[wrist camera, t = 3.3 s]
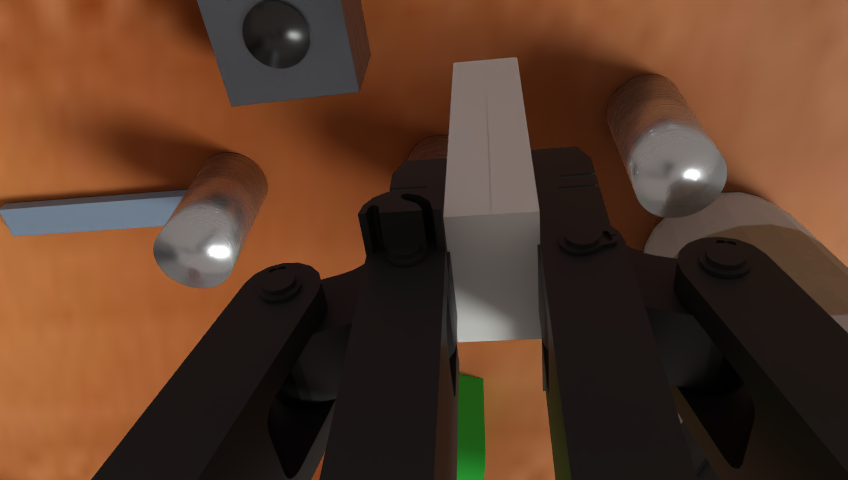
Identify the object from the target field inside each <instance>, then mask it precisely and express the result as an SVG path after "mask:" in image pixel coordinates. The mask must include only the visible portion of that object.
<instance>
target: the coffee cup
mask: <svg viewBox="0 0 848 480" xmlns="http://www.w3.org/2000/svg"><path fill="white" fill-rule="evenodd" d="M708 237H725V238H732V239H738V240H741V241H743V242H746V243H749V244H752V245H754V246H755V247H757V248H758V249H760V250H761V251H763V252H764V253H766V254H767V255H768V256H769V257H770V258H771V259H772V260H773V261H774V262H775V263H776V264H777V265H778V266H779V267H780V268H781V269H782V270H783V271H784V272H785V273H787V274H788V275H789V276H790V277H791V278H792V279H793V280H794V281H795V282H796V283H797V284H798V285H799V286H800V287H801V288H802V289H803V290H804V291H805V292H806V293H807V294H808V295H809V296H810V297H811V298H812V299H813V300H814V301H815V302H817V303H818V304H819V305H820V306H821V307H822V308H823V309H824V310H825V311H826V312H827V313H828V314H829V315H830V316H831V317H832V318H833V319H834V320H835V321H836V322H837V323H838V324H839V325H840V326H841V327H842V328H843V329H844V330H845V331H847V332H848V268H847V267H846V266H845V265H844V264H843V263H842V262H841V261H840V260H839V259H838V258H837V257H836V256H834V255H833V254H832V253H831V252H830V251H829V250H828V249H827V248H826V247H825V246H824V245H823V244H822V243H821V242H820V241H818V240H817V239H816V238H815V237H814V236H813V235H812V234H811V233H810V232H809V231H808V230H807V229H806V228H805V227H804V226H802V225H801V224H800V223H799V222H798V221H797V220H796V219H795V218H794V217H793V216H792V215H791V214H789V213H787V212H786V211H784V210H783V209H781V208H779V207H778V206H776V205H775V204H773V203H770V202H768V201H766V200H765V199H763V198H762V197H759V196H754V195H750V194H746V193H741V192H728V193H720V194H719V196H718V197H717V198H716V199H715V200H714V201H713V202H712V203H711V204H710V205H709V206H707V207H706V208H704V209H703V210H701V211H699V212H697V213H695V214H692V215H689V216H685V217H680V218H664V219H663V220H662V221H661V222H660V223H659V224H658V225H657V226H656V227H655V228H654V229H653V231H652V233H651V235H650V237H649V238H648V240H647V242H646V244H645V246H644V253H647V254H651V255H656V256H663V257H670V258H676V259H677V258H678V254H679V251H680V250H681V249H682V248H683V247H684V246H685V245H686V244H687V243H689V242H692V241H695V240H697V239H700V238H708ZM678 416H679V414H678ZM679 419H680V422H681V426H682V429H683V432H684V435H685V439H686V442H687V445H688V448H689V452H690V455H691V458H692V461H693V465H694V468H695V471H696V474H697V478H698V480H720V479H719V477H718V476H717V474H716V473H715V471H714V470H713V468H712V466H711V465H710V463H709V462H708V460H707V458H706V457H705V455H704V454H703V452H702V451H701V449H700V447H699V446H698V444H697V443H696V441H695V439H694V438H693V436H692V435H691V433H690V432H689V430H688V428H687V427H686V425H685V424H684V422H683V420H682V419H681V417H680V416H679Z"/></svg>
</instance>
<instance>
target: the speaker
mask: <svg viewBox="0 0 848 480" xmlns="http://www.w3.org/2000/svg"><path fill="white" fill-rule="evenodd" d="M197 2H198V6H199V9H200V12H201V15H202V18H203V21H204V24H205V27H206V30H207V33H208V36H209V39H210V42H211V45H212V48H213V51H214V54H215V57H216V61H217V64H218V67H219V70H220V73H221V76H222V79H223V82H224V85H225V88H226V91H227V94H228V97H229V100H230V103H231V106H240V105H249V104H258V103H266V102H275V101H284V100H293V99H302V98H311V97H320V96H328V95H337V94H346V93H355V92H360V88H361V85H362V82H363V79H364V75H365V72H366V69H367V66H368V62H369V59H370V56H371V54H370V48H369V43H368V38H367V32H366V27H365V22H364V16H363V11H362V6H361V0H197Z"/></svg>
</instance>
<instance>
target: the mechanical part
mask: <svg viewBox="0 0 848 480" xmlns="http://www.w3.org/2000/svg"><path fill="white" fill-rule="evenodd" d="M484 472H485V425H484V393H483V379H482V378H477V377H472V376H467V375H461V374H459V396H458V447H457V480H484Z"/></svg>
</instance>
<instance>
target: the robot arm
mask: <svg viewBox="0 0 848 480" xmlns="http://www.w3.org/2000/svg"><path fill="white" fill-rule="evenodd" d="M358 217H359V222H360V227H361V231H362V236H363V241H364V246H365V251H366V260H365V264H363V265H362V266H360V267H358V268H356V269H354V270H352V271H349V272H346V273H344V274H341V275H337V276H333V277H330V278H326V279H322V280H321V279H320V275H319V272H317V271H316V270H315V269H314V268H313V267H311V266H309V265H305V264H301V263H283V264H279V265H275V266H271V267H268V268H266V269H264V270H262V271H260V272H258V273H256V274H255V275H254V276H252V277H251V278H250V279H249V280H248V281H247V282H246V283H245V284H244V285H243V286H242V288H241V289H240V290H239V291H238V293H237V294H236V295H235V297H234V298H233V299H232V300H231V302H230V303H229V304H228V306H227V307H226V308H225V309H224V311H223V312H222V313H221V314H220V316H219V317H218V318H217V320H216V321H215V322H214V323H213V325H212V326H211V327H210V329H209V330H208V331H207V332H206V334H205V335H204V336H203V337H202V339H201V340H200V341H199V343H198V344H197V345H196V346H195V348H194V349H193V350H192V352H191V353H190V354H189V355H188V357H187V358H186V359H185V360H184V362H183V363H182V364H181V366H180V367H179V368H178V369H177V371H176V372H175V373H174V375H173V376H172V377H171V378H170V380H169V381H168V382H167V383H166V385H165V386H164V387H163V389H162V390H161V391H160V392H159V394H158V395H157V396H156V397H155V399H154V400H153V401H152V403H151V404H150V405H149V406H148V408H147V409H146V410H145V412H144V413H143V414H142V415H141V417H140V418H139V419H138V420H137V422H136V423H135V424H134V426H133V427H132V428H131V429H130V431H129V432H128V433H127V435H126V436H125V437H124V438H123V440H122V441H121V442H120V443H119V445H118V446H117V447H116V449H115V450H114V451H113V452H112V454H111V455H110V456H109V458H108V459H107V460H106V461H105V463H104V464H103V465H102V466H101V468H100V469H99V470H98V472H97V473H96V474H95V475H94V477H93V478H92V479H91V480H311V479H312V477H313V475H314V473H315V471H316V469H317V467H318V465H319V463H320V460H321V458H322V456H323V454H324V452H325V455H324V460H323V465H322V470H321V475H320V479H319V480H457V447H458V396H459V359H458V350H457V337H458V342H473V341H498V340H522V339H542V367H543V391H546V398H547V407H548V416H549V425H550V434H551V443H552V452H553V461H554V470H555V479H556V480H698V478H697V474H696V471H695V468H694V465H693V461H692V458H691V455H690V452H689V448H688V445H687V442H686V439H685V435H684V432H683V429H682V426H681V422H680V419H679V416H680V417H681V419H682V420H683V422H684V424H685V425H686V427H687V428H688V430H689V432H690V433H691V435H692V436H693V438H694V439H695V441H696V443H697V444H698V446H699V447H700V449H701V451H702V452H703V454H704V455H705V457H706V458H707V460H708V462H709V463H710V465H711V466H712V468H713V470H714V471H715V473H716V474H717V476H718V477H719V479H720V480H848V332H847V331H845V330H844V329H843V328H842V327H841V326H840V325H839V324H838V323H837V322H836V321H835V320H834V319H833V318H832V317H831V316H830V315H829V314H828V313H827V312H826V311H825V310H824V309H823V308H822V307H821V306H820V305H819V304H818V303H817V302H815V301H814V300H813V299H812V298H811V297H810V296H809V295H808V294H807V293H806V292H805V291H804V290H803V289H802V288H801V287H800V286H799V285H798V284H797V283H796V282H795V281H794V280H793V279H792V278H791V277H790V276H789V275H788V274H787V273H785V272H784V271H783V270H782V269H781V268H780V267H779V266H778V265H777V264H776V263H775V262H774V261H773V260H772V259H771V258H770V257H769V256H768V255H767V254H766V253H764V252H763V251H761V250H760V249H758V248H757V247H755V246H754V245H752V244H749V243H746V242H743V241H741V240H738V239H732V238H725V237H708V238H700V239H697V240H695V241H692V242H689V243H687V244H686V245H685V246H684V247H683V248H682V249H681V250H680V251H679V254H678V258H677V259H676V258H670V257H663V256H656V255H651V254H647V253H642V252H640V251H637V250H635V249H632V248H630V247H628V246H627V245H626V244H625V240H624V239H623V237H622V236H621V234H620V233H619V231H617V230H615V229H614V228H612V227H611V225H610V222H609V219H608V215H607V212H606V208H605V205H604V201H603V198H602V195H601V191H600V188H599V186H598V181H597V178H596V176H595V171H594V167H593V164H592V160H591V158H590V157H588V156H587V155H586V154H585V153H584V152H582V151H581V150H580V149H579V148H578V147H568V148H554V149H540V150H531V149H530V142H529V135H528V129H527V122H526V115H525V108H524V101H523V94H522V87H521V80H520V74H519V67H518V60H517V57H512V58H501V59H490V60H478V61H467V62H456V63H453V77H452V92H451V107H450V123H449V138H448V153H447V158H441V159H428V160H414V161H405V162H404V163H403V164H402V165H401V166H400V167H399V168H398V169H397V170H396V171H395V172H394V174H393V175H392V180H391V186H390V191H389V192H387V193H384V194H382V195H379V196H376V197H374V198H372V199H371V200H370V201H368V202H367V203H366V204H364V205H363V206H362V208H361V210H360V212H359V213H358ZM678 414H679V416H678ZM325 450H326V451H325Z"/></svg>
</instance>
